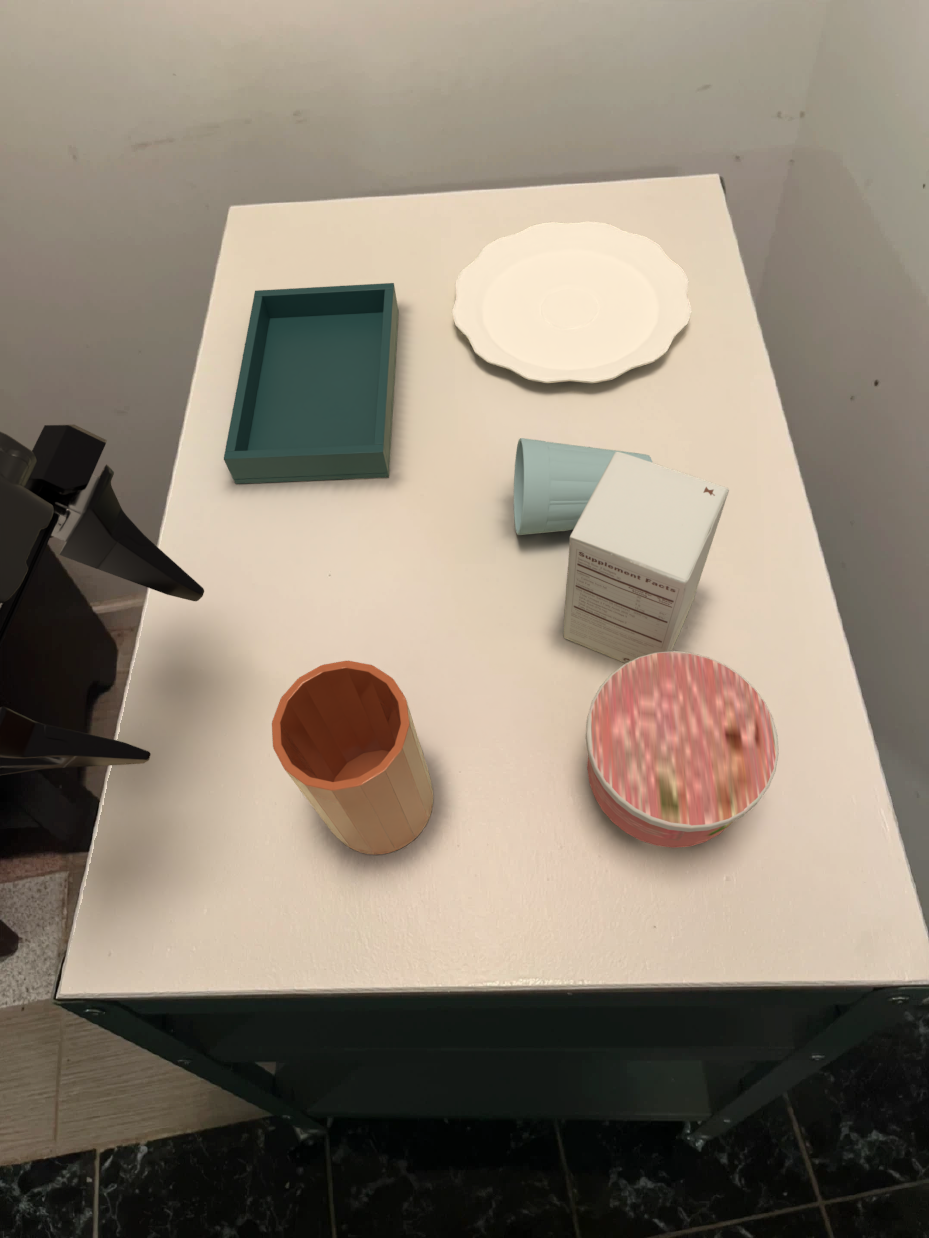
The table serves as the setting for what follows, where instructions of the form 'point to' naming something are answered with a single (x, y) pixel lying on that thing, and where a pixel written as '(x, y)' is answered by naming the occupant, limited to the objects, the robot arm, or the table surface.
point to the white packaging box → (638, 557)
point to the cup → (556, 483)
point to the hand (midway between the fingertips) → (176, 672)
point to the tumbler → (355, 755)
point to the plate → (571, 302)
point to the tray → (315, 386)
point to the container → (678, 748)
